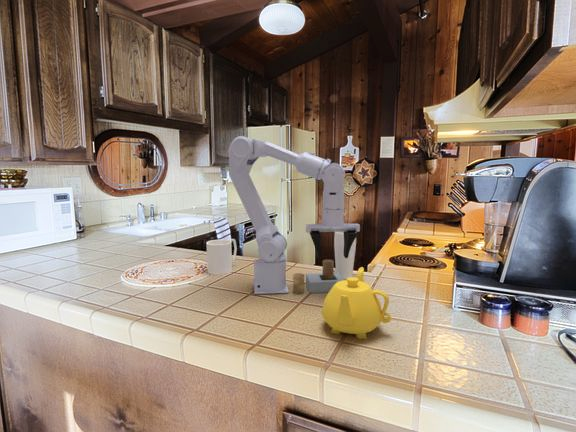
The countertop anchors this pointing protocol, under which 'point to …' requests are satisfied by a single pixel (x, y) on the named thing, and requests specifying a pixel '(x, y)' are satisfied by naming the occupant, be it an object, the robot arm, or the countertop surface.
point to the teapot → (354, 307)
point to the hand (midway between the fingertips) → (332, 257)
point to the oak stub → (298, 283)
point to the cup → (220, 256)
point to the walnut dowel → (328, 270)
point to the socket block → (321, 282)
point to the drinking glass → (343, 264)
